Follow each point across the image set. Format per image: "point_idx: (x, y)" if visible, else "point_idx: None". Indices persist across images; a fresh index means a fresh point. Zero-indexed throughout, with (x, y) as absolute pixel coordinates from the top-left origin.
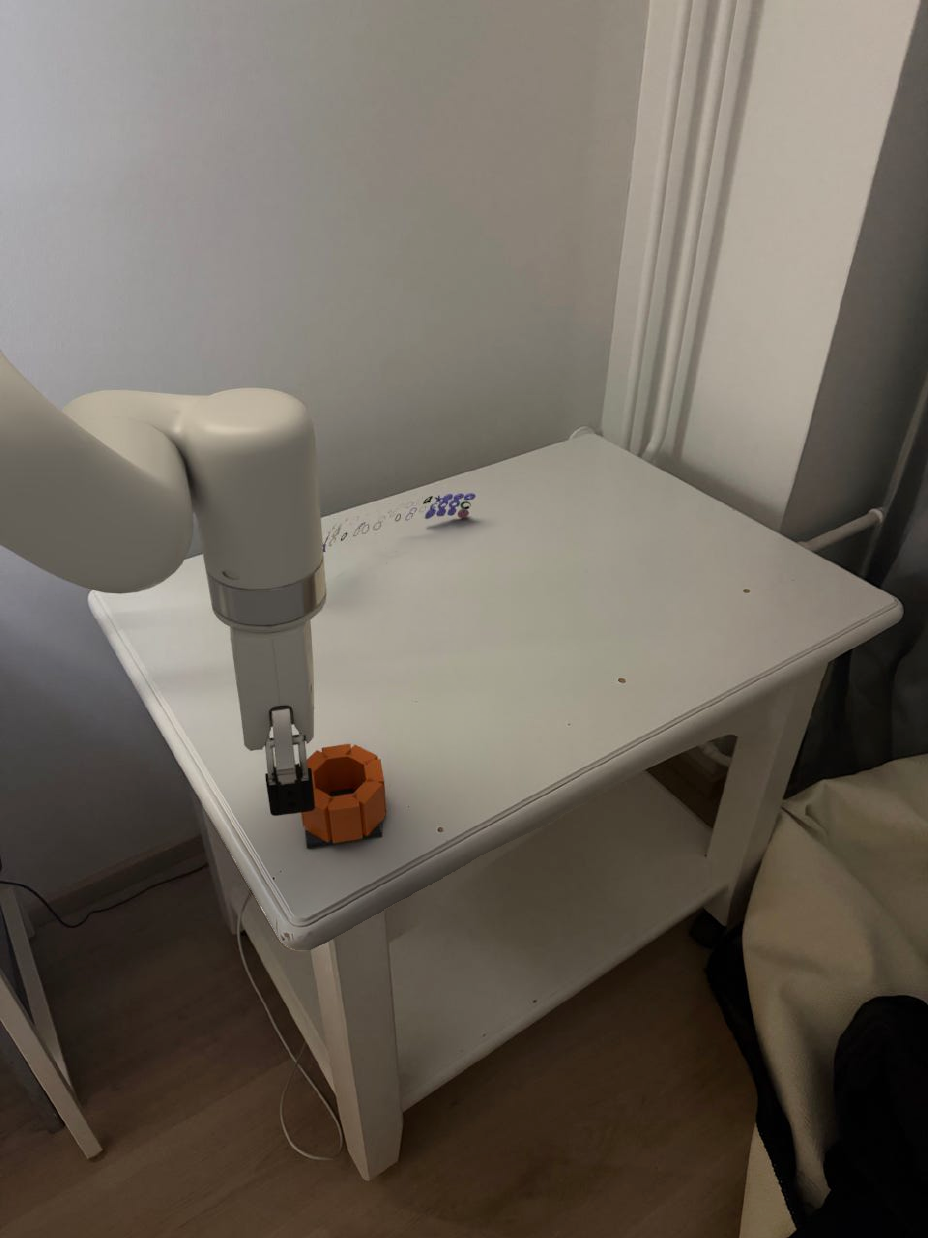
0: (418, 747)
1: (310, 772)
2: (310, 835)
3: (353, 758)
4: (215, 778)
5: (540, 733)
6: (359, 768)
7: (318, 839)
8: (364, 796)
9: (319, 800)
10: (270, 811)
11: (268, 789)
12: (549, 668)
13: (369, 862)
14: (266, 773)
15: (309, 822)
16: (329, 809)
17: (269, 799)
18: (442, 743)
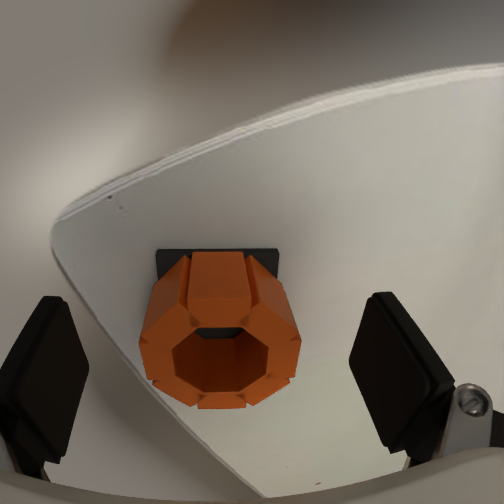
0: (309, 383)
1: (45, 459)
2: (171, 261)
3: (256, 381)
4: (352, 107)
5: (284, 455)
6: (245, 375)
7: (162, 272)
8: (167, 387)
9: (162, 333)
10: (40, 301)
11: (8, 360)
12: (356, 456)
13: (128, 322)
14: (6, 398)
15: (173, 276)
16: (140, 345)
17: (22, 332)
18: (305, 401)
